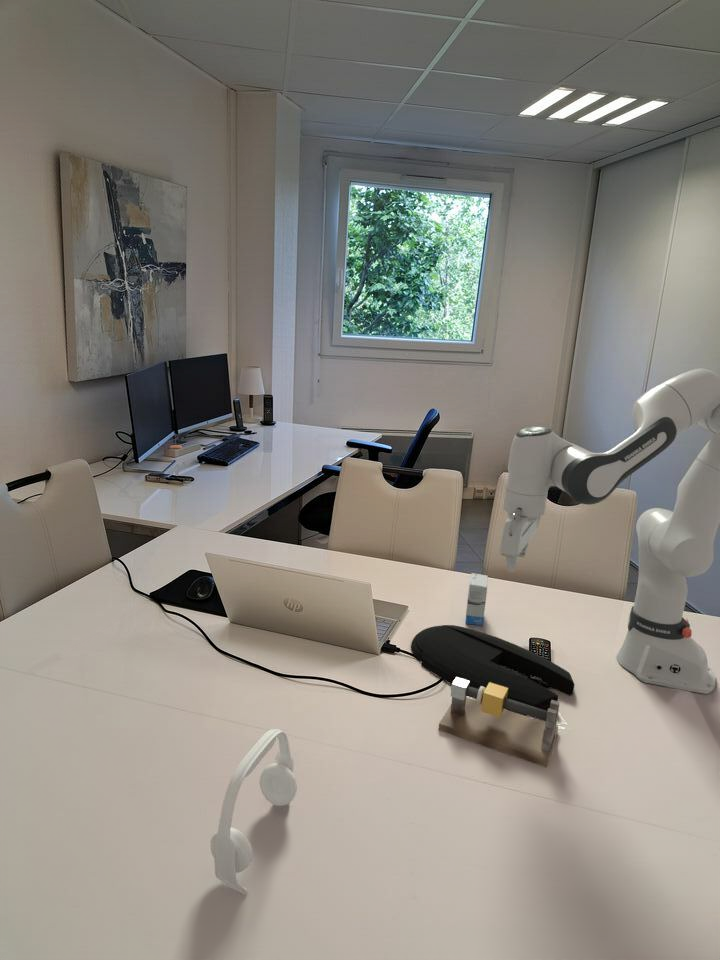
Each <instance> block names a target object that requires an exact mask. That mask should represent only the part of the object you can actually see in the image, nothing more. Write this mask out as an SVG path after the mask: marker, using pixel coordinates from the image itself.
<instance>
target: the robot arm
mask: <svg viewBox="0 0 720 960" xmlns="http://www.w3.org/2000/svg"><path fill="white" fill-rule="evenodd" d="M631 411H632V412H631V418H632V423H633V425H634V427H635V432H634V433H633V434H631V435H630V436H629V437H627V438H626V439H624V440H623V441H621V442H620V443H618V444H617V445H616V446H614V447H613V448H611V449H610V450H608V451H605V452H592V451H590V450H587V449H585V448H584V447H581V446H579V445H577V444H575V443H572V442H569V441H568V440H566V439H564V438H562V437H560V436H559V435H557V434H556V433H555V432H554V431H553V430H552V429H551V428H549V427H546V426H535V425H534V426H528V427H524V428H522V429H519V430H518V431H517V432H516V433H515V434H514V437H513V439H512V442H511V446H510V449H509V450H510V451H509V457H508V463H507V472H508V476H507V480H506V483H505V486H504V493H503V500H502V501H503V502H502V509H503V510H504V511H505V512H507V518H506V520H505V522H504V526H503V531H502V536H501V542H500V548H499V551H500V552H499V553H500V555H501V556H504V557H505V559H506V565H505V566H506V567H505V569H506V571H507V572H510V573H514V572H515V570H516V569H517V563H518V562H517V558H519V557H520V558H525V556H526V555H527V551H528V546H529V543H530V540H531V539H532V538H533V536H534V535H535V533H537V530H538V527H539V523H540V520H541V517H542V516H543V515H545V513H546V506H547V499H548V494H549V492H548V491H549V490H550V488H551V487H557V488H559V490H561V491H563V492H564V493H566V494H567V495H569V496H570V497H571V498H572V499H573V500H574V501H576V502H577V503H579V504H582V505H587V506H588V505H596V504H598V503H601V502H602V501H603V502H604V501H605V500H606V499H607V498H608V497H610V496H611V495H612V493H613V492H614V491H616V489H617V488H618V487H619V485H620V484H621V483H622V482H623V481H625V480H626V479H627V478H628V477H630V476H631V475H632V474H634V473H635V472H637V471H638V470H639V469H640V468H642V467H643V466H645V465H646V464H647V463H650V462H651V461H652V460H654V458H656V457H658V455H660V454H661V453H662V452H664V451H665V450H666V449H667V448H668V447H669V446H671V444H672V443H673V442H674V441H675V439H676V437H677V436H678V435H680V434H681V433H682V432H684V431H685V430H687V429H689V428H690V427H692V426H694V425H696V424H698V425H699V426H700V427H702V428H704V430H705V429H706V430H707V431H710V432H711V436H710V439H709V440H708V442H707V443H706V444H705V446H703V448H702V449H701V451H700V452H699V453H698V455H697V457H696V458H695V459H694V461H693V462H692V464H691V466H690V467H689V468H688V470H687V472H685V475H684V476H683V477H682V479H681V480H680V482H679V484H678V486H677V488H676V489H677V490H676V491H677V492H676V493H677V494H676V495H677V496H676V501H675V505H674V508H673V511H672V510H669V509H665V508H661V507H654V508H649V509H647V510H645V511H644V512H643V513H641V515H639V517H638V519H637V521H636V525H635V527H636V528H635V530H636V534H637V539H638V542H637V543H638V579H637V580H638V581H637V586H636V587H637V588H636V592H635V593H636V594H635V596H634V603H633V605H632V607H631V609H630V611H629V614H628V619H627V620H628V622H627V633H626V635H625V638H624V641H623V643H622V645H621V647H620V649H619V650H618V652H617V654H616V659H617V661H618V663H619V665H621V666H622V667H623V668H624V669H626V670H627V671H629V672H630V673H632V674H633V675H635V677H637V679H638V680H639V681H640V682H642V683H647V684H652V685H656V686H662V687H667V688H673V689H678V690H683V691H690V692H695V693H700V694H705V695H707V694H710V693H712V692H713V691H714V690H715V687H716V675H715V673H714V671H713V669H712V668H711V666H709V665H708V658H707V654H706V652H705V650H704V648H703V646H701V645H700V644H699V643H698V642H697V641H696V640H694V639H693V637H692V636H693V635H692V634H693V633H692V629H691V628H690V627H691V624H690V622H689V619H688V618H686V619H685V618H684V617H683V615H684V610H685V606H686V602H687V595H688V593H689V591H688V590H689V589H688V583H687V580H686V578H693V577H698V576H700V575H702V574H704V573H705V572H707V571H708V570H709V568H711V566H712V564H713V562H714V543H715V538H716V534H717V531H718V528H719V526H720V376H719V375H718V374H717V373H715V372H714V371H713V370H710V369H707V368H702V367H699V368H694V369H692V370H689V371H685V372H683V373H680V374H678V375H675V376H673V377H671V378H669V379H666V380H665V381H663V382H661V383H659V384H657V385H656V386H654V387H652V388H650V389H649V390H647V391H645V392H644V393H643V394H642V395H640V396H639V397H638V398H637V399H636V400H635V401H634V404H633V406H632V410H631Z"/></svg>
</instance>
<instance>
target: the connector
mask: <svg viewBox="0 0 720 960" xmlns="http://www.w3.org/2000/svg"><path fill="white" fill-rule="evenodd" d="M469 685H470V681H468V680H465V679H462V678H458V677H456V678H455V680H454V681H453V683H452V684H451V687H450V688H451V690H450V697H451V702H450V705H451V711H450V712H451V713H454V714H457V715H460V716H462V714H463V712H464V710H465V704H466V697H468V696H466V689H467V687H468V686H469Z"/></svg>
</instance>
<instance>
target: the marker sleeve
mask: <svg viewBox="0 0 720 960" xmlns="http://www.w3.org/2000/svg"><path fill="white" fill-rule="evenodd" d="M507 693H508V688H507V687H503V686H500V685H497V684H494V683H490V682H489V684H488V686H487V687H486V689H485V691H484V693H483V700H482V708H481V712H484V713H487V714H490V715H493V716H496V717H499V718H500V717H501V715H502V713H503V711H504V709H505V708H503V700H504V698H507ZM505 710H506V709H505Z"/></svg>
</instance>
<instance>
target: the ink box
mask: <svg viewBox="0 0 720 960" xmlns="http://www.w3.org/2000/svg"><path fill="white" fill-rule="evenodd" d="M488 578H489V577H488V575H486V574H481V573H479V574H478V573H474V572H472V573H470V577H469V579H470V580H469V584H468V585H469V586H468V594H467V600H466V601H467V603H466V610H465V611H466V612H465V624H467V625H475V626H481V627H482V626H483V627H484V618H485V609H486V602H487V593H488Z"/></svg>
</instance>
